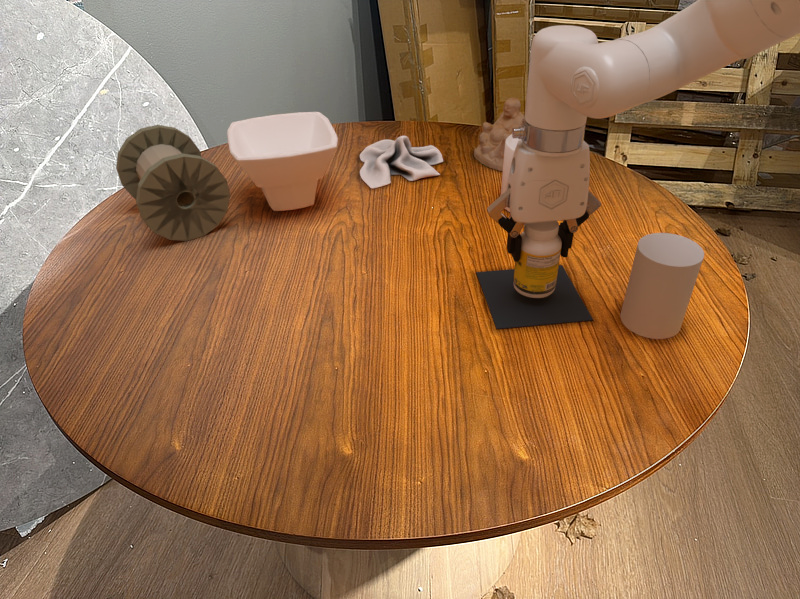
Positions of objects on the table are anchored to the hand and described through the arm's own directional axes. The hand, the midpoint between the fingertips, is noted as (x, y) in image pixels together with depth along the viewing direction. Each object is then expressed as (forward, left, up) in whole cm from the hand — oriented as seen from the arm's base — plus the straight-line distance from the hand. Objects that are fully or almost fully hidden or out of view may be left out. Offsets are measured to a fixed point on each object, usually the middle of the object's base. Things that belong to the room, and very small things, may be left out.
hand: (538, 253), depth 88 cm
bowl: (+37, -35, -8) cm, 52 cm away
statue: (-7, -48, -8) cm, 49 cm away
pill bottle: (0, 0, -6) cm, 6 cm away
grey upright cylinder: (-15, +8, -8) cm, 19 cm away
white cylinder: (-8, -28, -8) cm, 30 cm away
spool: (+57, -32, -8) cm, 66 cm away
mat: (0, 0, -8) cm, 8 cm away
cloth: (+15, -48, -8) cm, 51 cm away
